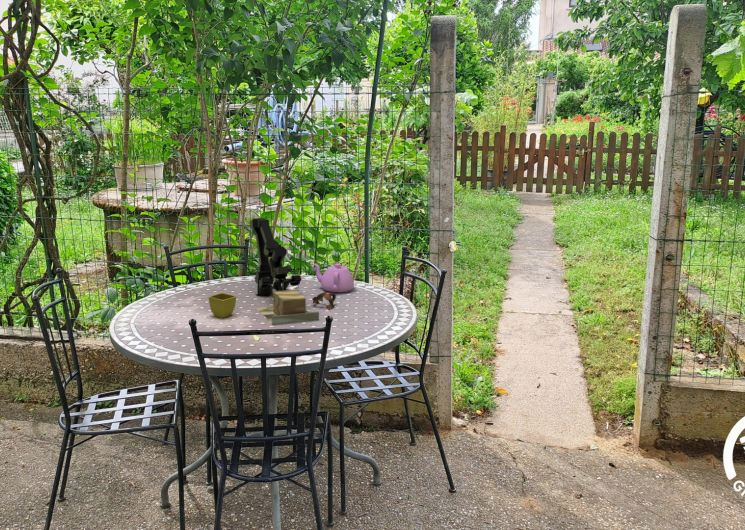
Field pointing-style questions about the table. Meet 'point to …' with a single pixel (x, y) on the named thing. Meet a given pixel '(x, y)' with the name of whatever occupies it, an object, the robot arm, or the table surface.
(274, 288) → the robot arm
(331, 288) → the teapot
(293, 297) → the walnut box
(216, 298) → the flower pot
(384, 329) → the table surface
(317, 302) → the brown piece
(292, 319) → the board
